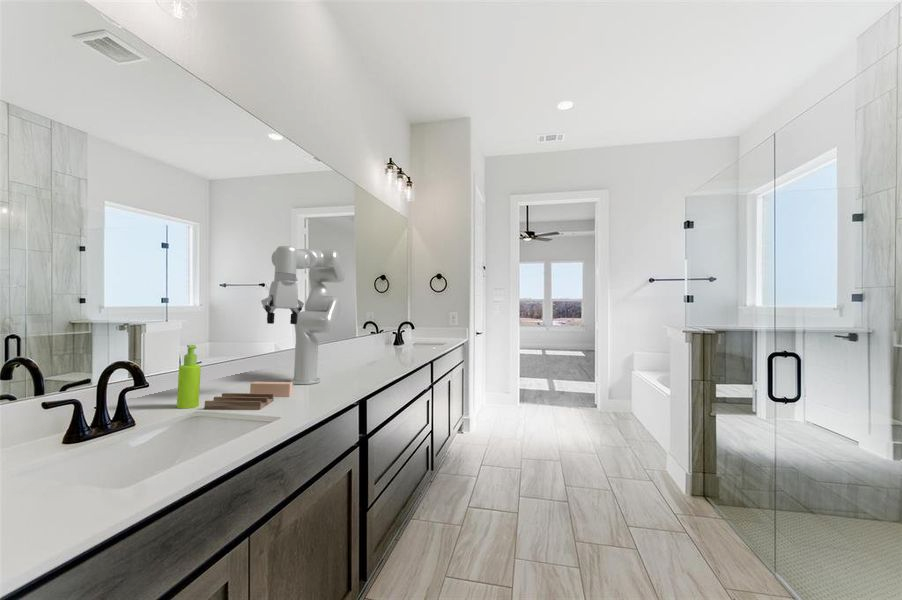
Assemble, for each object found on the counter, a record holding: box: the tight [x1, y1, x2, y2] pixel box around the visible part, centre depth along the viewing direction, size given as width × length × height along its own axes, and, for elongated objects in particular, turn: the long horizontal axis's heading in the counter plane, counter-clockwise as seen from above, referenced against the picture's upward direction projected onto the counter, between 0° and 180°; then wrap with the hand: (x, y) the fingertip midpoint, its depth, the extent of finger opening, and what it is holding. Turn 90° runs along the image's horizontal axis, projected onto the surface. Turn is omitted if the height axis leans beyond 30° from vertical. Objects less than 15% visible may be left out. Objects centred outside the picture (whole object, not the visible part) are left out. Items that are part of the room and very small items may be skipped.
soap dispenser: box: [176, 344, 202, 410], centre depth 124 cm, size 6×7×20 cm
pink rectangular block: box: [249, 381, 294, 398], centre depth 143 cm, size 4×14×5 cm, turn 96°
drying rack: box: [203, 392, 275, 411], centre depth 128 cm, size 12×17×2 cm
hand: (282, 323), depth 144 cm, fingers open, 9 cm apart
